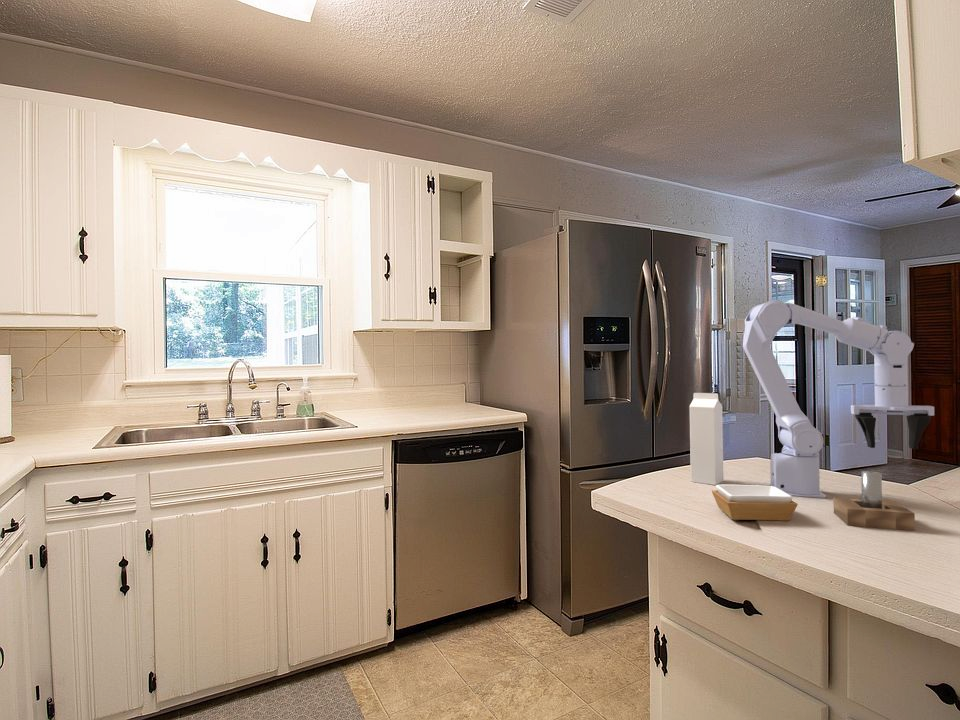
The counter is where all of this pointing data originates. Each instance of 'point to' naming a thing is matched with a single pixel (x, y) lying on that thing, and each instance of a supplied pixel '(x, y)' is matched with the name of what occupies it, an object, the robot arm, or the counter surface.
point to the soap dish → (754, 502)
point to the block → (874, 514)
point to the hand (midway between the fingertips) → (892, 447)
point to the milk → (706, 439)
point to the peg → (871, 489)
